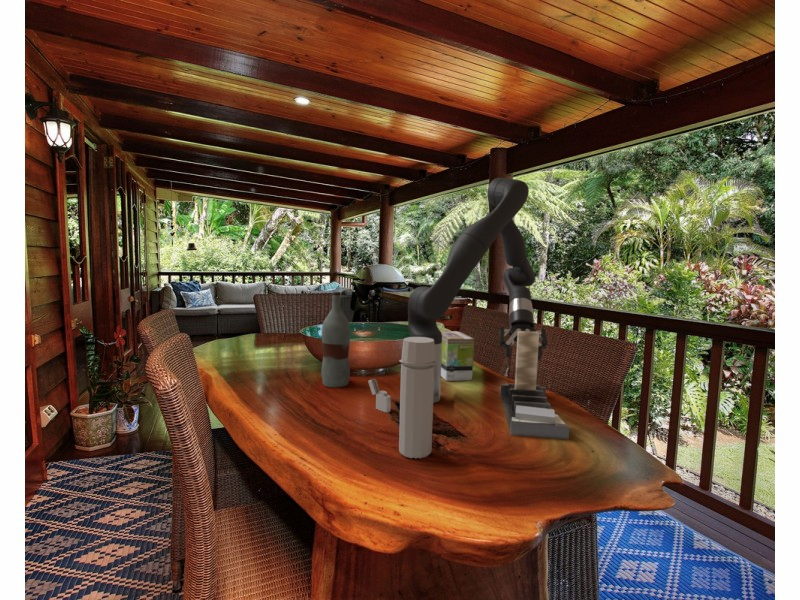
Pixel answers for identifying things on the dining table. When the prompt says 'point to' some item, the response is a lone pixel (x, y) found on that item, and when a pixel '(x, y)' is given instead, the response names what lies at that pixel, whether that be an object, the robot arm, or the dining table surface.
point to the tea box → (457, 356)
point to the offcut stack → (536, 415)
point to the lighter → (380, 397)
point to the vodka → (335, 346)
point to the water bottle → (416, 397)
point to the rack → (529, 399)
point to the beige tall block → (526, 360)
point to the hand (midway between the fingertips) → (523, 358)
